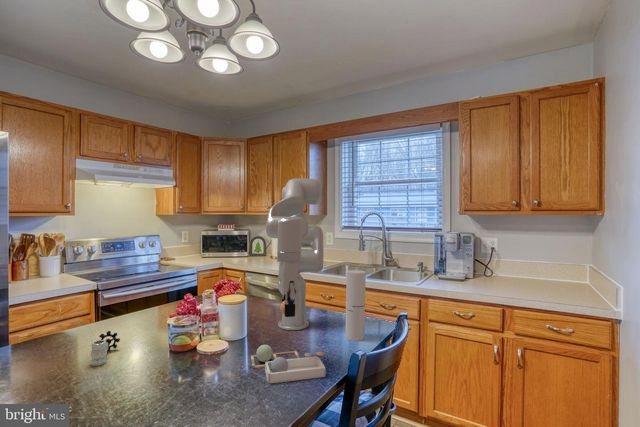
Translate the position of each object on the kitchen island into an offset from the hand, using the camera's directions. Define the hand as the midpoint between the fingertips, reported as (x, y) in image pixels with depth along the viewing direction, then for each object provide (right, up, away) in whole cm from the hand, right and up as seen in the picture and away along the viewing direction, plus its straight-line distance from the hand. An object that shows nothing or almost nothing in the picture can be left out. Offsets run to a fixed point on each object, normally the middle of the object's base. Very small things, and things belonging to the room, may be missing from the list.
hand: (288, 313), depth 105 cm
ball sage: (-7, -14, -2) cm, 16 cm away
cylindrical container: (+23, -16, +20) cm, 35 cm away
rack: (-4, -15, -1) cm, 15 cm away
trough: (+3, -15, -10) cm, 18 cm away
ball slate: (-1, -15, -11) cm, 18 cm away
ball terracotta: (0, -1, 0) cm, 1 cm away
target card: (+8, -15, +3) cm, 18 cm away
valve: (-58, -14, -1) cm, 60 cm away
